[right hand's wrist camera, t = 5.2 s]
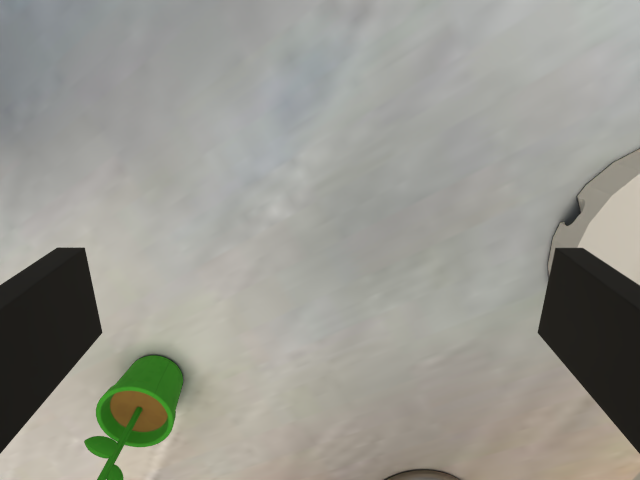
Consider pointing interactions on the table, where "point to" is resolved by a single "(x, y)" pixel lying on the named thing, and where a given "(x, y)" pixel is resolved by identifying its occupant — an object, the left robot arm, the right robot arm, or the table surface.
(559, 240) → the ashtray
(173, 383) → the potted flower
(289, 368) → the table surface
